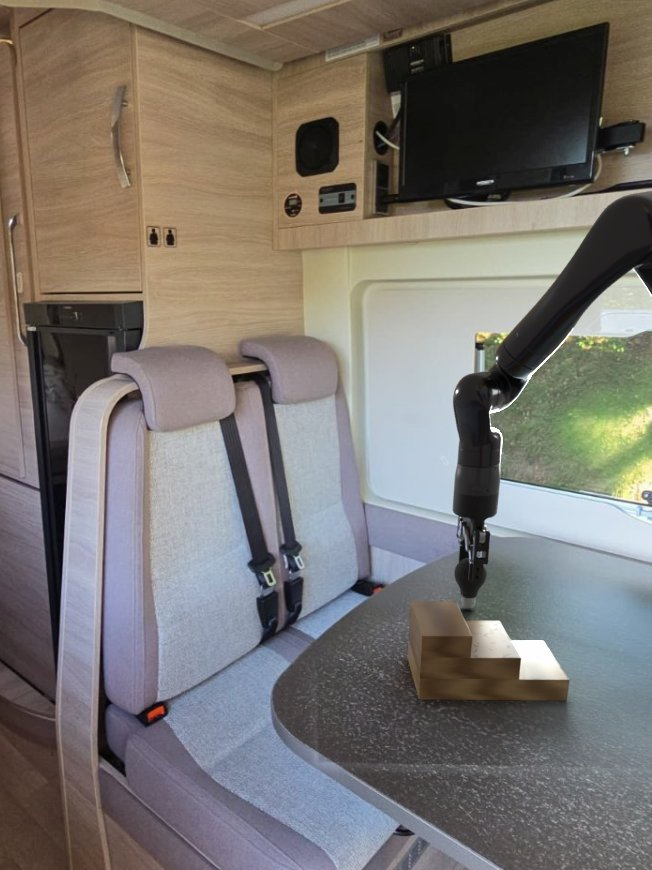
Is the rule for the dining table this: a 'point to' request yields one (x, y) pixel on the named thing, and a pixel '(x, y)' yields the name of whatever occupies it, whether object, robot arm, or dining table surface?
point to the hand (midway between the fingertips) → (469, 573)
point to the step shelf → (527, 688)
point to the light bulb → (467, 583)
